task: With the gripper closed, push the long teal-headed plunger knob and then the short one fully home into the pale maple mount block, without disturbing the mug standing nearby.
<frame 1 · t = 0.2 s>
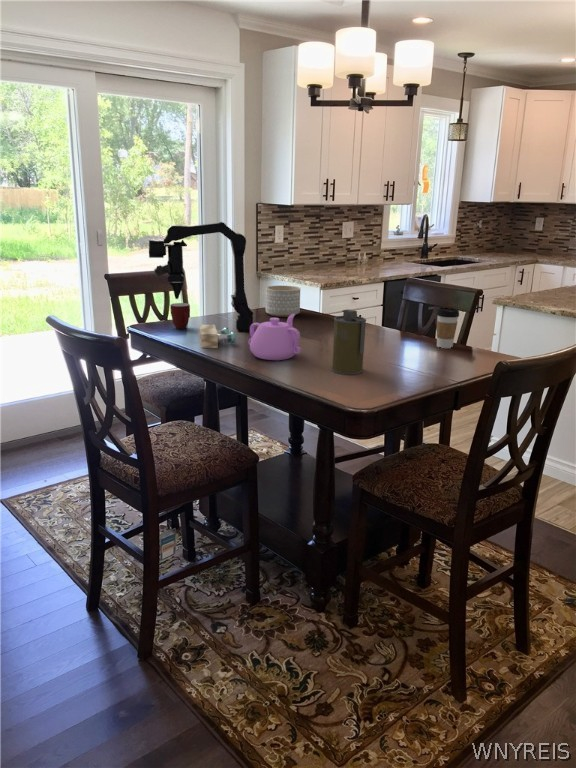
hand: (177, 296, 244), 15 cm above the table, fingers open, 9 cm apart
knob 1: (222, 338, 229), point 3 cm above the table, slide at 0.0 cm
canister: (347, 370, 200), on the table
mug: (182, 328, 255), on the table
teapot: (277, 355, 217), on the table
coffee cup: (444, 347, 234), on the table
planter: (282, 314, 290), on the table
knob 2: (218, 333, 236), point 3 cm above the table, slide at 0.0 cm
mount: (208, 342, 232), on the table
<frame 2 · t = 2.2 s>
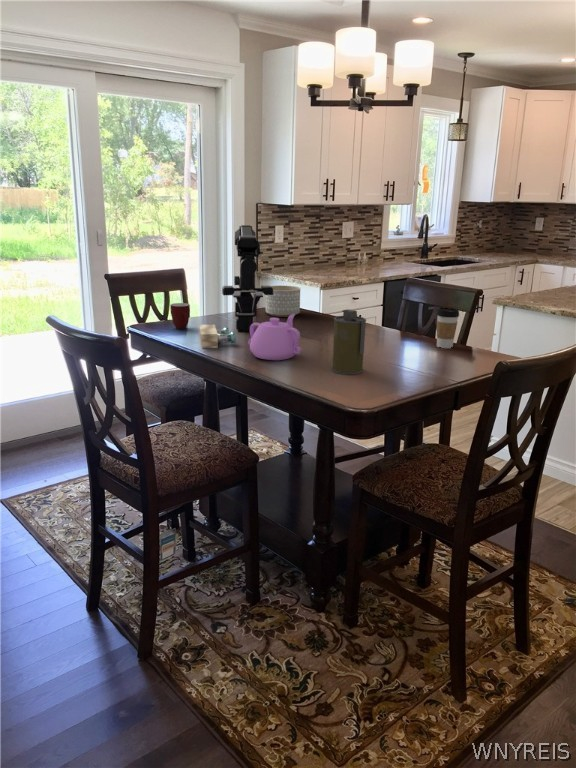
hand: (247, 313, 228), 12 cm above the table, fingers open, 4 cm apart
nothing on the table moved.
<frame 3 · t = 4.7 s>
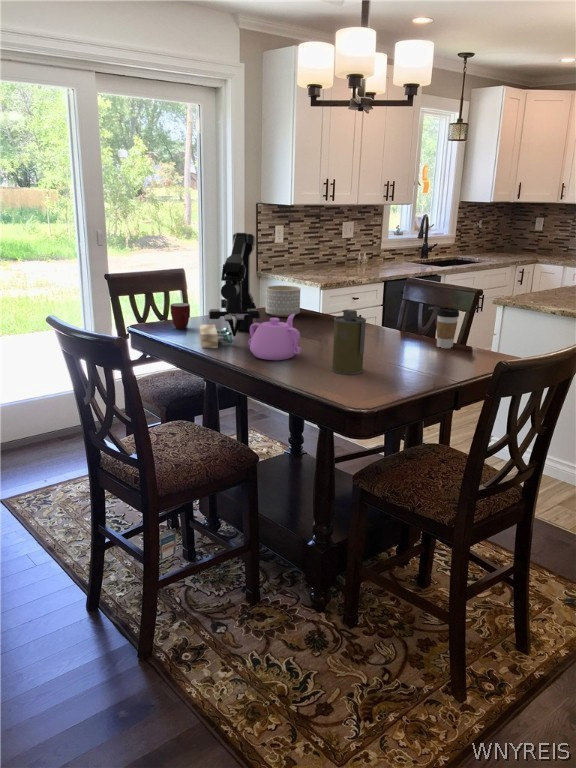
hand: (234, 336, 229), 3 cm above the table, fingers closed
knob 1: (218, 338, 228), point 3 cm above the table, slide at 1.5 cm, touching gripper
everything else where it was.
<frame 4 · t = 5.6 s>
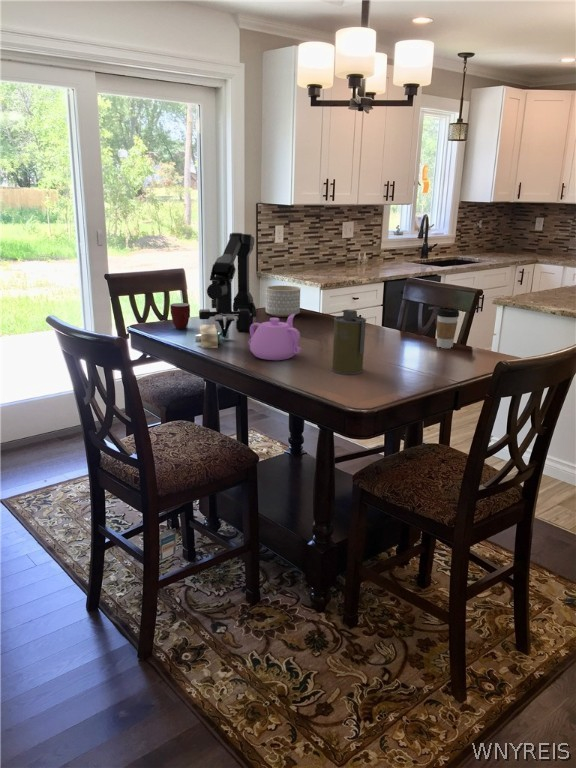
hand: (224, 336, 229), 3 cm above the table, fingers closed
knob 1: (208, 338, 228), point 3 cm above the table, slide at 5.0 cm, touching gripper
everything else where it was.
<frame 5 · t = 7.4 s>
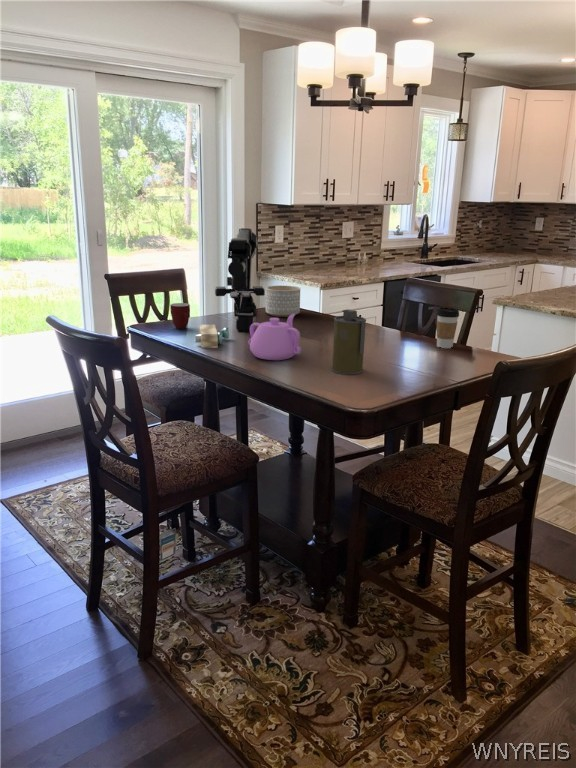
hand: (239, 313, 234), 11 cm above the table, fingers closed
knob 1: (208, 338, 228), point 3 cm above the table, slide at 5.0 cm
everything else where it was.
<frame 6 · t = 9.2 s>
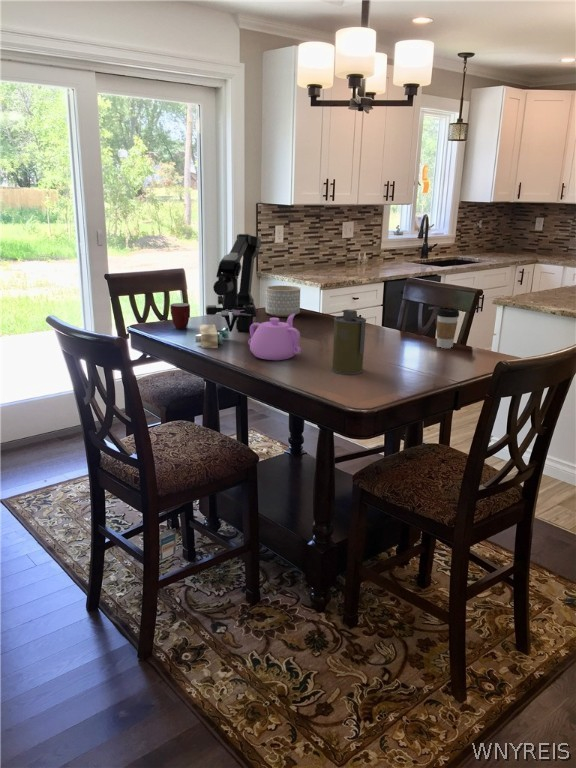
hand: (230, 331, 237), 3 cm above the table, fingers closed
knob 2: (217, 333, 236), point 3 cm above the table, slide at 0.2 cm, touching gripper
everything else where it was.
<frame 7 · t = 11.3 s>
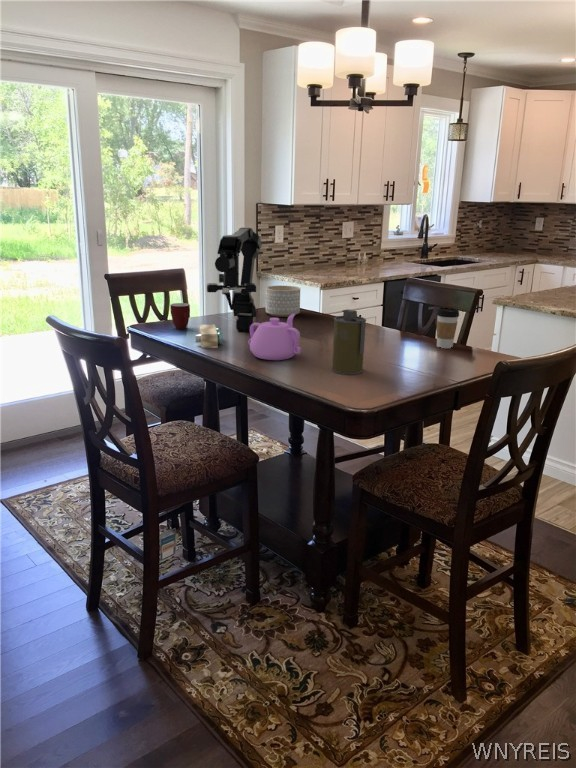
hand: (231, 309, 234), 12 cm above the table, fingers closed
knob 2: (210, 333, 235), point 3 cm above the table, slide at 3.0 cm
everything else where it was.
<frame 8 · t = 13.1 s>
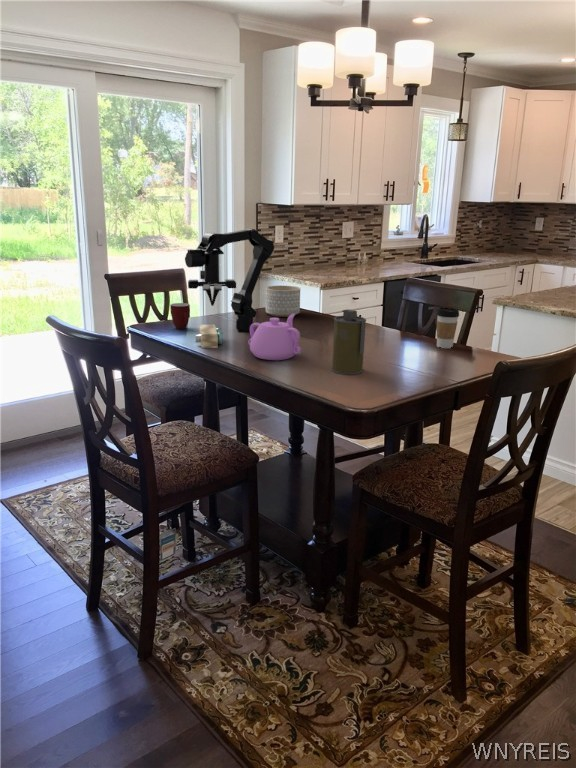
hand: (212, 305, 241), 12 cm above the table, fingers closed
nothing on the table moved.
at the end: knob 1 slide at 5.0 cm; knob 2 slide at 3.0 cm; mug moved 0.2 cm from its start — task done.
